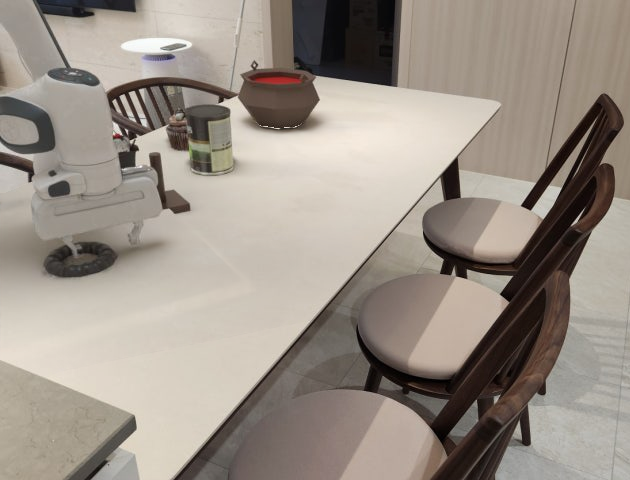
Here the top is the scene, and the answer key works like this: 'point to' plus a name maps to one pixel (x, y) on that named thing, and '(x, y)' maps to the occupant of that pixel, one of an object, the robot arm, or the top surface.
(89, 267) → the tire
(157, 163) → the peg stand
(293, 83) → the cauldron
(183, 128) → the cupcake
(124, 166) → the sundae
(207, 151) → the coffee can
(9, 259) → the top surface
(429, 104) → the top surface
